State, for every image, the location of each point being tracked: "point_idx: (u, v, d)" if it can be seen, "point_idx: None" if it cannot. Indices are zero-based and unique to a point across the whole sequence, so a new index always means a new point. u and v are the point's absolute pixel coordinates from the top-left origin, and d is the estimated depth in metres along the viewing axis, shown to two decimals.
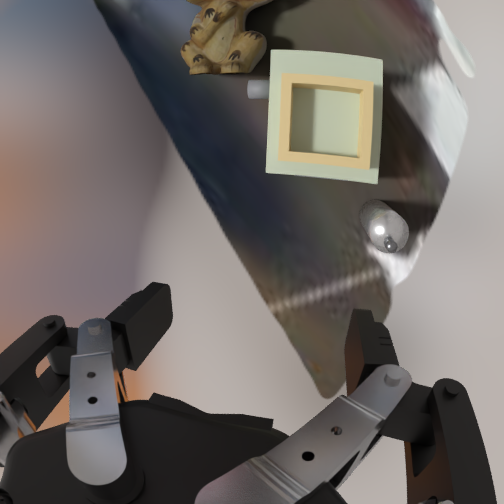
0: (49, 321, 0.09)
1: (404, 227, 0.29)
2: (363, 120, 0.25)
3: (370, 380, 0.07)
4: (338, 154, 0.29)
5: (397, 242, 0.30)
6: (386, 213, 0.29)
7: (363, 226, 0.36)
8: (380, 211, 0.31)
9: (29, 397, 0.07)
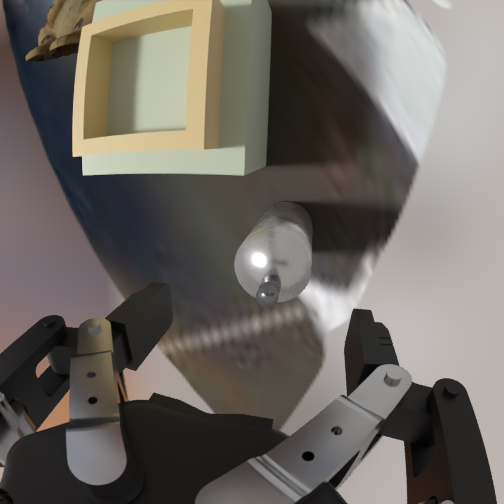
0: (49, 320, 0.09)
1: (300, 256, 0.16)
2: (190, 59, 0.12)
3: (370, 380, 0.07)
4: (172, 130, 0.16)
5: (288, 284, 0.17)
6: (263, 230, 0.17)
7: None
8: (261, 225, 0.18)
9: (29, 397, 0.07)
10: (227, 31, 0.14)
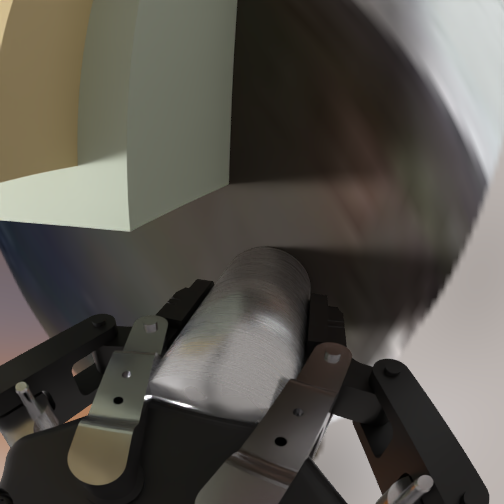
0: (98, 320, 0.09)
1: None
2: None
3: (312, 360, 0.08)
4: None
5: None
6: (182, 368, 0.06)
7: None
8: (191, 334, 0.08)
9: (60, 392, 0.07)
10: None
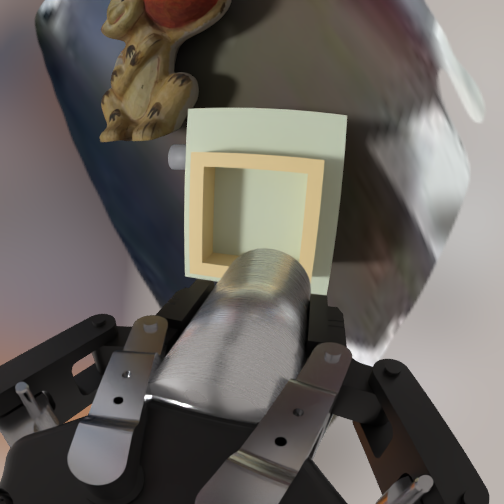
0: (98, 320, 0.09)
1: None
2: (304, 221, 0.20)
3: (312, 360, 0.08)
4: None
5: None
6: (183, 370, 0.06)
7: None
8: (192, 337, 0.08)
9: (60, 392, 0.07)
10: (323, 183, 0.21)
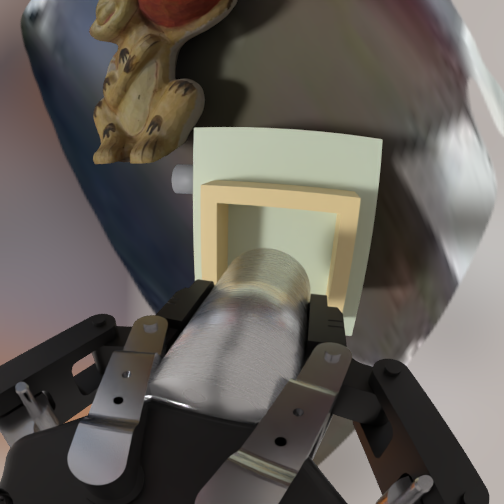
0: (98, 320, 0.09)
1: None
2: (335, 267, 0.17)
3: (312, 360, 0.08)
4: None
5: None
6: (182, 370, 0.06)
7: None
8: (191, 336, 0.08)
9: (60, 392, 0.07)
10: None
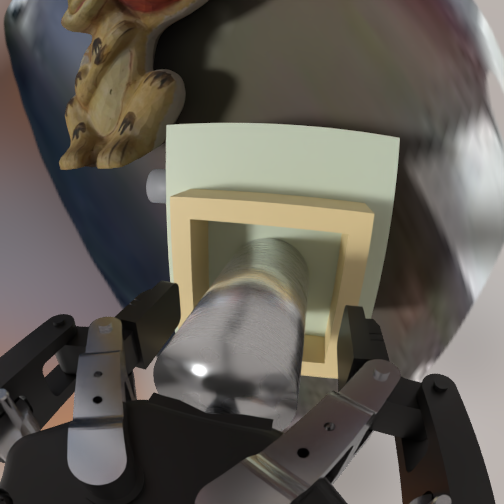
0: (58, 320, 0.09)
1: (276, 387, 0.07)
2: (339, 300, 0.13)
3: (359, 375, 0.07)
4: None
5: None
6: (198, 332, 0.08)
7: None
8: (205, 308, 0.09)
9: (35, 395, 0.07)
10: None
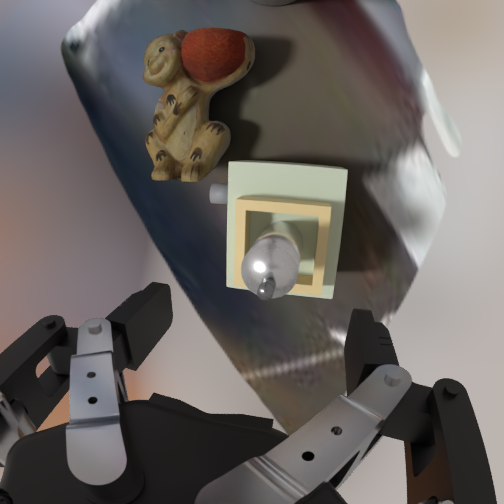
0: (49, 321, 0.09)
1: (289, 262, 0.22)
2: (317, 249, 0.28)
3: (370, 380, 0.07)
4: None
5: (281, 283, 0.23)
6: (261, 243, 0.23)
7: None
8: (260, 240, 0.24)
9: (29, 397, 0.07)
10: (329, 219, 0.30)
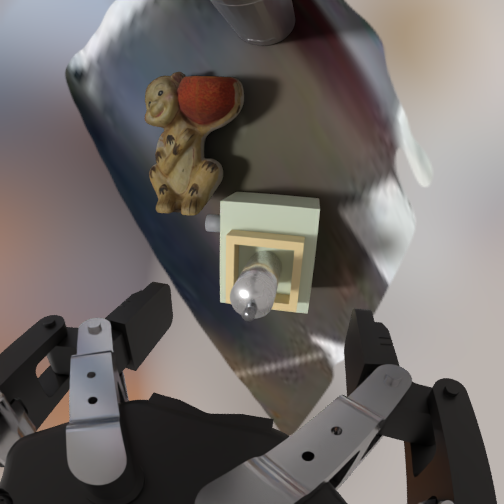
0: (49, 321, 0.09)
1: (267, 292, 0.29)
2: (292, 276, 0.35)
3: (370, 380, 0.07)
4: None
5: (261, 307, 0.30)
6: (245, 278, 0.29)
7: None
8: (244, 273, 0.31)
9: (29, 397, 0.07)
10: (304, 250, 0.36)
